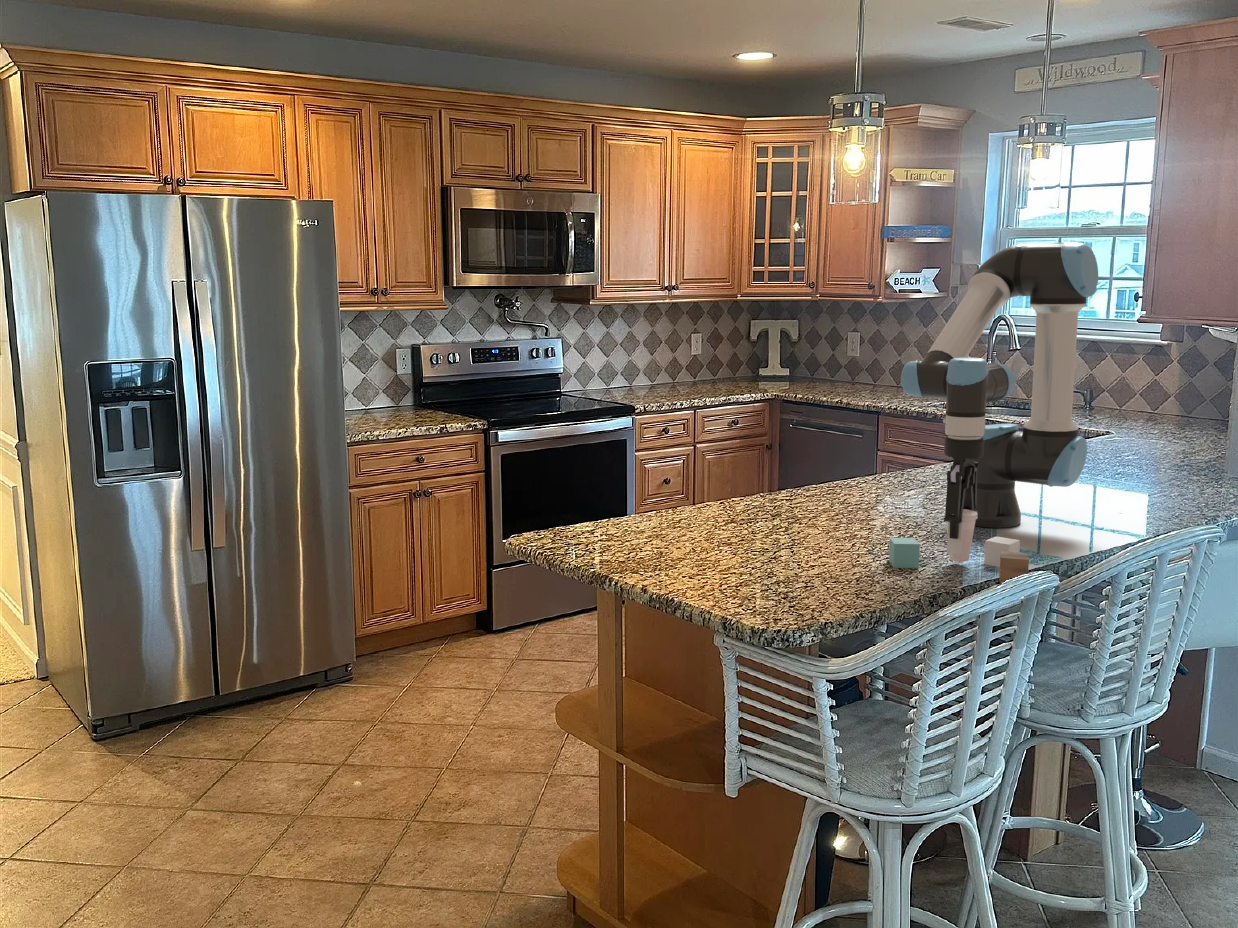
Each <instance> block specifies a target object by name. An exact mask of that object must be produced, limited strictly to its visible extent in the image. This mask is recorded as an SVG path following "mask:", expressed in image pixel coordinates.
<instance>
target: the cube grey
mask: <svg viewBox="0 0 1238 928" xmlns="http://www.w3.org/2000/svg"><path fill="white" fill-rule="evenodd" d="M1020 548H1021V539H1014V538H1010V537H1009V538H1008V537H1002V536H993V537H991V538H989V539H986V540H985V541H984V556H983V557H984V560H983V561H984V563H983V565H986V566H992V567H997V568H1000V555H1001V551H1003V552H1017V553H1020Z"/></svg>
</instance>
